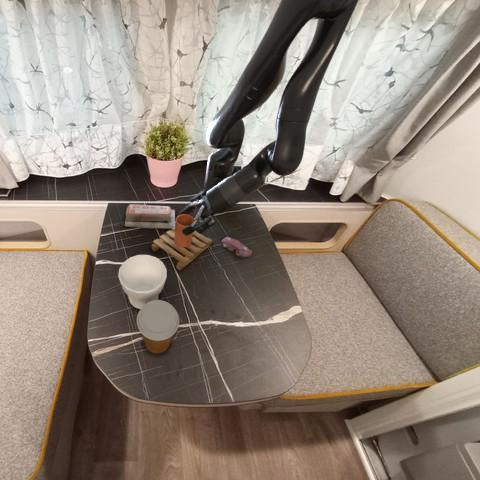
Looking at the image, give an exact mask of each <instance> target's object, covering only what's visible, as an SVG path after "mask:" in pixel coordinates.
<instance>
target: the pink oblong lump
mask: <svg viewBox="0 0 480 480" xmlns="http://www.w3.org/2000/svg"><path fill="white" fill-rule="evenodd" d="M221 244H222V246H223V248H226V249H227V250H229V251H230V252H234V251H235V250H236V251H235V252H234V253H235V254H236V256H238V257H243V258H250V257H251V256H252V254H253V250H252V249H250V248H249V247H247V246H246V245H245V244H243V243H242V242H241V241H240V240H238V239H235V238H232V237H230V236H225V237H224V238H223V239H222V240H221Z"/></svg>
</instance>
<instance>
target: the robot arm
mask: <svg viewBox="0 0 480 480" xmlns="http://www.w3.org/2000/svg"><path fill="white" fill-rule="evenodd" d="M358 3H359V0H280V2H279V4H278V6H277V9H276V11H275V13H274V15H273V17H272V19H271V21H270V24H269V26H268V27H267V30H266V31H265V33H264V35H263V36H262V39H261V40H260V42H259V44H258V45H257V48H256V49H255V51H254V52H253V55H252V56H251V58H250V60H249V61H248V63H247V64H246V66H245V68H244V70H243V71H242V72H241V74H240V76H239V78H238V80H237V82H236V84H235V85H234V88H233V89H232V91H231V92H230V93H229V95H228V97H227V99H226V101H225V102H224V104H223V105H222V106H221V108H220V109H219V110H218V112H216V113H215V116H214V117H213V118H212V120H211V121H210V123H209V125H208V127H207V132H206V142H207V144H208V146H209V147H210V148H212V149H213V150H215V151H213V152H211V153H210V154H209V156H208V159H207V164H206V171H205V177H204V184H203V189H202V190H201V191H199V192H198V193H197V194H195V195H194V196H192V197H191V198H189V204H188V205H187V206H186V207H184V208H182V209H181V210H180V211H179V215H182V214H187V215H190V214H191V213H193V212H194V211H196V215H195V216H194V219H195V220H194V222H193V223H192V225H189V226H188V227H186V228H185V229H183V230H182V233H183V234H184V235H186V236H187V235H189V234H191V233H193V232H194V231H196V232H198V233H199V234H203V233H204V232H206V231H207V230H208V229H210V228H212V227H213V226H215V225H216V223H217V222H216V220H215V219H214V217H215V215H216V214H223V213H225V212H226V211H227V210H229V209H231V208H232V207H234V206H236V205H237V204H238V203H240V202H242V201H243V200H244V199H245V198H247V197H248V196H249V195H251V194H253V193H254V192H256V191H258V190H259V189H260V188H262V187H263V186H264V185H265V184H266V178H267V177H268V176H269V175H270V174H271V173H272V172H273V173H274V174H276V175H277V176H280V177H287V176H289V175H292V174H293V173H294V172H296V170H297V169H298V168H299V167H300V165H301V163H302V160H303V158H304V153H305V148H306V147H305V146H306V139H307V128H308V125H309V123H310V119H311V117H312V113H313V109H314V106H315V104H316V100H317V97H318V94H319V90H320V89H321V85H322V83H323V79H324V77H325V76H326V73H327V70H328V68H329V66H330V63H331V62H332V60H333V57H334V55H335V53H336V51H337V49H338V47H339V44H340V42H341V40H342V38H343V36H344V33H345V31H346V29H347V26H348V24H349V23H350V21H351V18H352V16H353V14H354V11H355V9H356V7H357V5H358ZM312 20H317V21H316V28H315V30H314V34H313V37H312V39H311V43H310V45H309V47H308V49H307V51H306V53H305V54H304V56H303V58H302V59H301V61H300V63H299V64H298V66H297V67H296V68H295V70H294V71H293V73H292V75H291V76H290V78H289V79H288V81H287V83H286V85H285V87H284V89H283V91H282V94H281V98H280V101H279V104H278V105H279V106H278V111H277V114H276V119H275V124H274V125H275V131H276V137H275V140H273V141H271V142H270V143H269V144H266V146H264V147H263V148H262V149H261V150H260V151H259V152H258V153H257V154H256V155H255V156H254V157H253V158H252V159H251V160H250V162H249V163H247V164H246V165H244V166H243V167H242V168H240V169H238V170H237V171H236V172H235V173H233V171H234V168H235V164H236V163H237V161H238V159H239V156H240V152H241V149H242V146H243V143H244V139H245V133H246V126H245V122H244V120H243V119H244V118H246V117H247V116H249V115H250V114H252V113H254V112H255V111H256V110H258V109H260V108H261V107H263V105H264V104H265V103H266V102H267V101H268V100H269V99H270V98H271V96H272V95H273V94H274V93H275V91H276V90H277V89H278V88H279V86H280V84H281V83H282V81H283V79H284V77H285V72H286V68H287V60H288V59H287V57H288V51H289V49H290V47H291V45H292V44H293V42H294V41H295V40H296V38H297V36H298V35H299V33H300V32H301V30H302V29H303V28H304V27H305V26H306V25H307V23H309V22H310V21H312Z"/></svg>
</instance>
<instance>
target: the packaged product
mask: <svg viewBox="0 0 480 480" xmlns="http://www.w3.org/2000/svg"><path fill="white" fill-rule="evenodd" d="M175 222H176V210H175V209H172V207H171V206H166V205H151V204H149V205H148V204H132V203H131V204H128V206H127V208H126V209H125V220H124V226H125V227H128V228H129V227H130V228H143V229H165V230H166V229H169V230H172V228H173V227H174V226H175Z"/></svg>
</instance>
